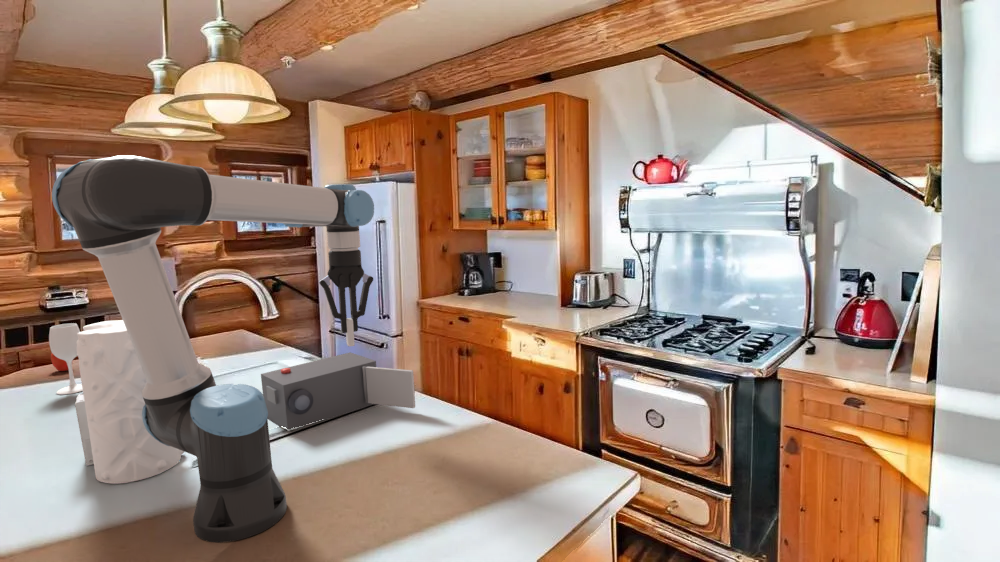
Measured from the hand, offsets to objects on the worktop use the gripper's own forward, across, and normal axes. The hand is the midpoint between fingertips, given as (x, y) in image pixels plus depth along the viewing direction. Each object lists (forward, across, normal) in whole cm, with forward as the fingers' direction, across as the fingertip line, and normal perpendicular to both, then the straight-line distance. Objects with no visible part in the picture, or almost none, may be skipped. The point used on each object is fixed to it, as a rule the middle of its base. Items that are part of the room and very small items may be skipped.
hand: (350, 344), depth 137 cm
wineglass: (+21, +76, -74) cm, 108 cm away
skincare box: (+22, +56, -11) cm, 61 cm away
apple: (+21, +85, -103) cm, 136 cm away
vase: (+22, +46, 0) cm, 51 cm away
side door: (+19, -10, -6) cm, 22 cm away
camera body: (+21, +6, -14) cm, 26 cm away
